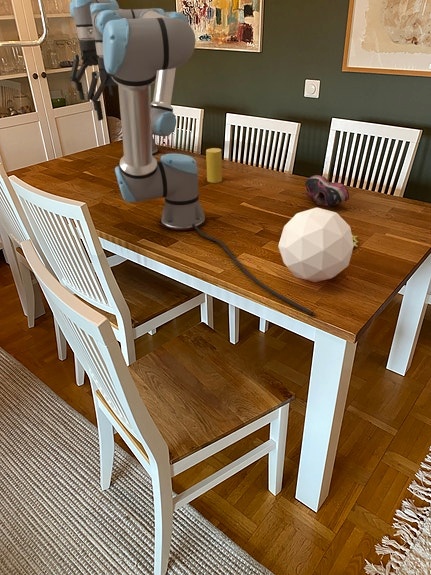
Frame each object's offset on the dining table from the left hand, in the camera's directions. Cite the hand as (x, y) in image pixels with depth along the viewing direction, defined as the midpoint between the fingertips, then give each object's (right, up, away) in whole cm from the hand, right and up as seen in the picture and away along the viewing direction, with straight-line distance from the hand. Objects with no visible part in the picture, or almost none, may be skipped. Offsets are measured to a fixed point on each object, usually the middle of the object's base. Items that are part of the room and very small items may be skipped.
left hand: (97, 97), depth 185 cm
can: (+49, -33, +7) cm, 60 cm away
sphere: (+77, -77, -62) cm, 125 cm away
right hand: (+13, -18, -21) cm, 30 cm away
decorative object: (+86, -64, -43) cm, 116 cm away
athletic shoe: (+89, -47, -17) cm, 103 cm away
